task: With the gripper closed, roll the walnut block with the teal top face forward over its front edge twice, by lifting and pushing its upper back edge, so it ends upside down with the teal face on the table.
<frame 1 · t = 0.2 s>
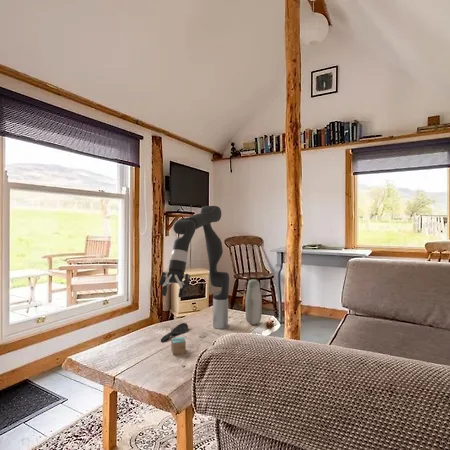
hand: (171, 296, 141), 31 cm above the table, tool tilted 20°, fingers open, 8 cm apart
two tone block: (178, 351, 156), on the table
hairbrush: (174, 335, 180), on the table
grey green rounded cylinder: (253, 324, 199), on the table
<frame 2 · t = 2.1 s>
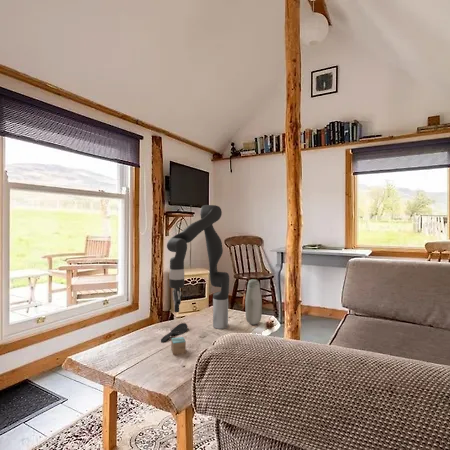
hand: (176, 311, 161), 18 cm above the table, tool pointing down, fingers closed
nothing on the table moved.
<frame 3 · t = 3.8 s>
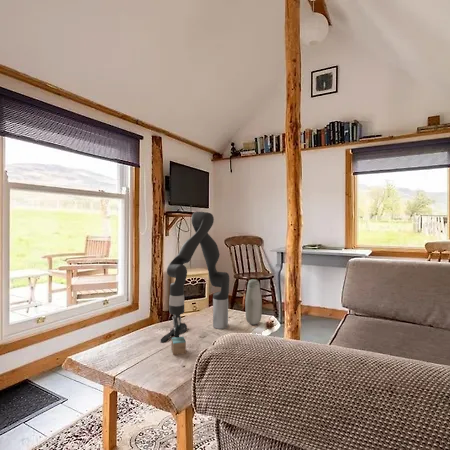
hand: (176, 337, 160), 6 cm above the table, tool pointing down, fingers closed
two tone block: (178, 351, 156), on the table, touching gripper
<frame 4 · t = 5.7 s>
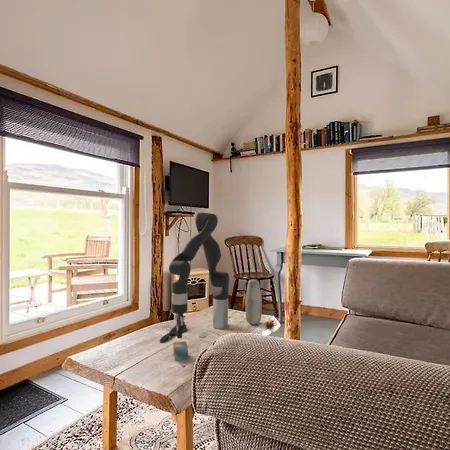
hand: (179, 337, 153), 8 cm above the table, tool pointing down, fingers closed
two tone block: (179, 348, 153), point 3 cm above the table, tilted 90°
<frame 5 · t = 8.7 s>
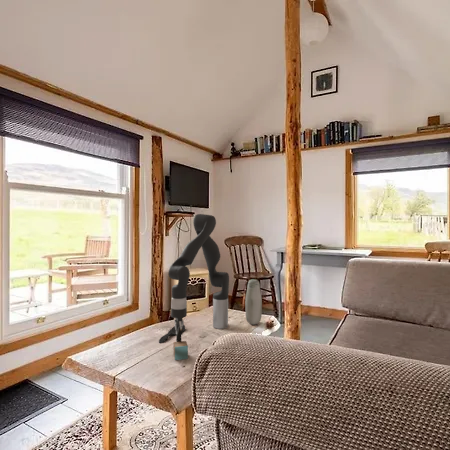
hand: (178, 342, 154), 5 cm above the table, tool pointing down, fingers closed
two tone block: (179, 347, 153), point 3 cm above the table, tilted 92°, touching gripper
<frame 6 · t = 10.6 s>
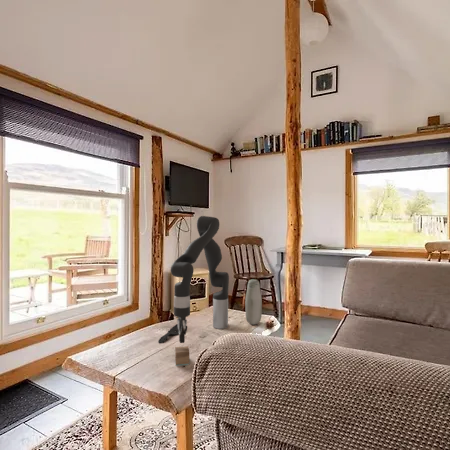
hand: (181, 342, 147), 8 cm above the table, tool pointing down, fingers closed
two tone block: (182, 349, 145), point 6 cm above the table, tilted 180°
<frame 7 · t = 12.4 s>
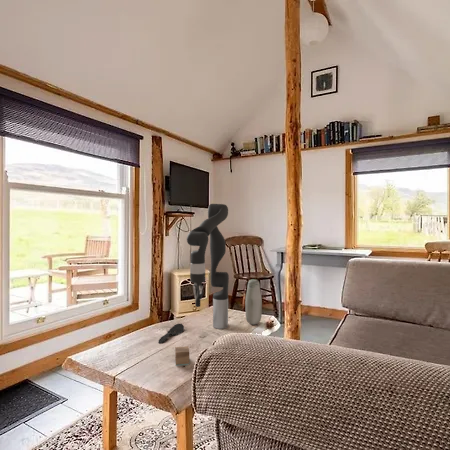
hand: (197, 306, 158), 22 cm above the table, tool pointing down, fingers closed
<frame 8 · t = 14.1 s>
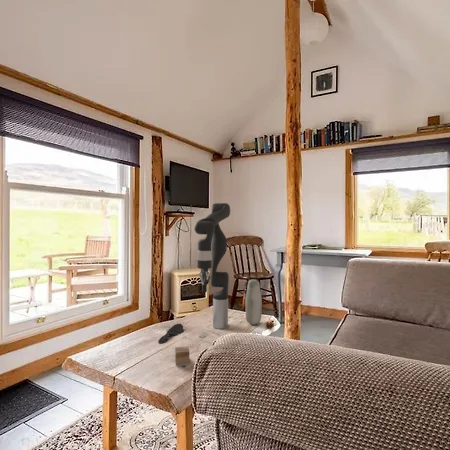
hand: (204, 291, 167), 27 cm above the table, tool pointing down, fingers closed
at the end: two tone block tilted 180°; two tone block inside the target area (0.6 cm from its centre), point 5.9 cm above the table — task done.
